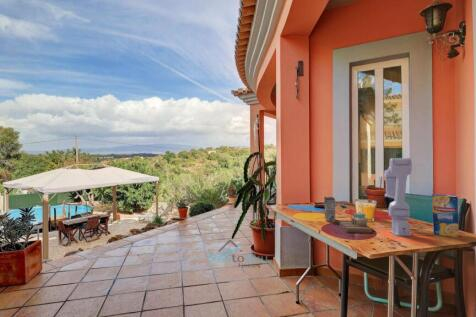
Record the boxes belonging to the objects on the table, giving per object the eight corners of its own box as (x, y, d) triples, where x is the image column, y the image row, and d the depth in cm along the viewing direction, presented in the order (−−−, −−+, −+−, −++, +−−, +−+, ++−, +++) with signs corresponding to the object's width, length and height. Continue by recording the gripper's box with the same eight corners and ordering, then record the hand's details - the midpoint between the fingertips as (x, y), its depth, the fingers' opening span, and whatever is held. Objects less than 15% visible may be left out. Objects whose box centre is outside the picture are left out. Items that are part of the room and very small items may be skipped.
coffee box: (324, 218, 188) (324, 196, 188) (333, 218, 186) (333, 196, 187) (326, 221, 179) (325, 198, 179) (335, 221, 178) (335, 198, 178)
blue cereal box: (458, 237, 137) (457, 196, 137) (433, 234, 144) (432, 195, 144) (457, 234, 143) (456, 195, 143) (432, 231, 149) (431, 194, 149)
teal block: (365, 217, 159) (365, 213, 159) (359, 218, 157) (358, 214, 157) (360, 216, 162) (360, 212, 162) (354, 217, 161) (353, 213, 161)
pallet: (367, 224, 159) (367, 217, 159) (357, 225, 156) (357, 219, 156) (360, 222, 163) (360, 216, 163) (351, 223, 160) (351, 217, 160)
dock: (371, 232, 149) (371, 228, 149) (346, 232, 151) (346, 228, 151) (360, 224, 168) (360, 220, 168) (338, 224, 170) (338, 220, 170)
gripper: (403, 189, 156) (403, 211, 156) (392, 187, 171) (392, 207, 170) (391, 189, 157) (391, 211, 157) (381, 187, 172) (381, 207, 171)
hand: (391, 209), depth 164 cm, fingers open, 7 cm apart
